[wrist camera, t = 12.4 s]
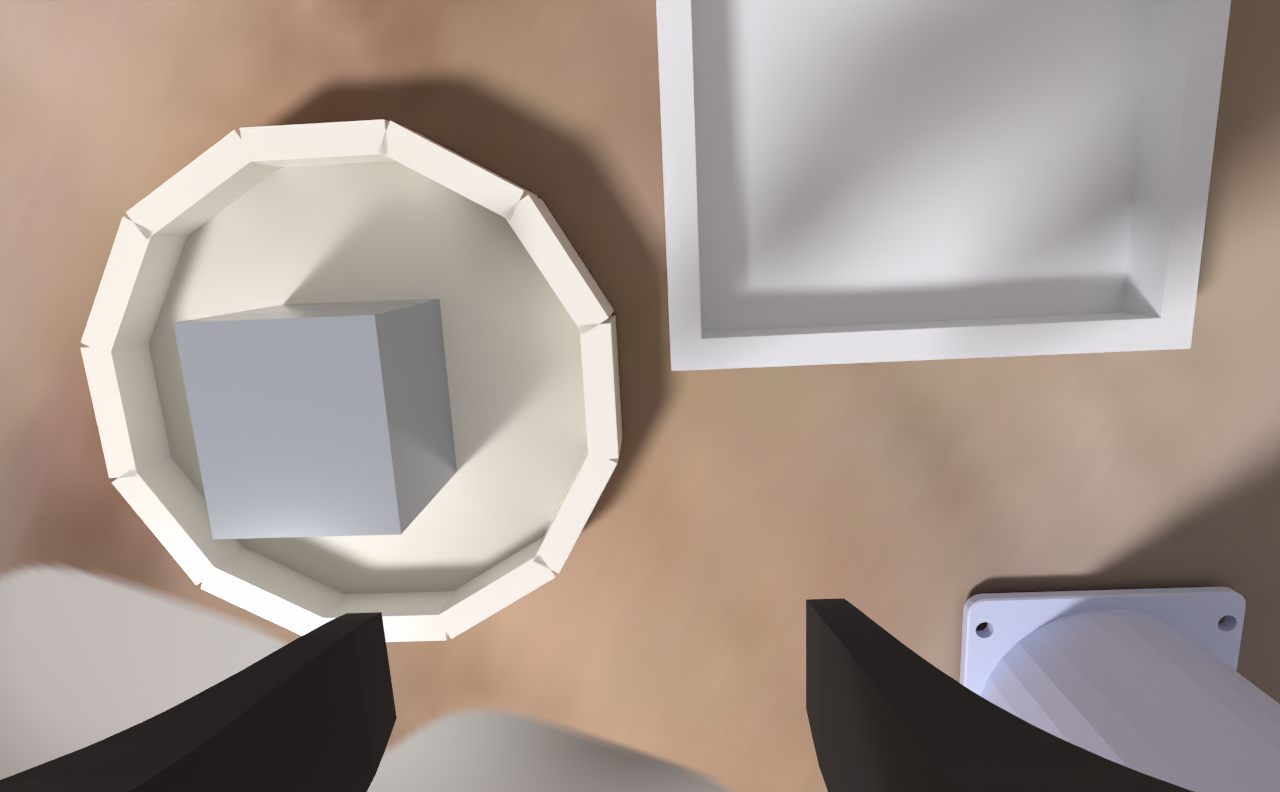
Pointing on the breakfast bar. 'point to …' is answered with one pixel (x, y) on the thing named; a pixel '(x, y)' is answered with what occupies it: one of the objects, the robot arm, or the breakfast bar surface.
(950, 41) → the parts tray
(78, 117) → the breakfast bar surface
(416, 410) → the block
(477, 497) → the bowl
